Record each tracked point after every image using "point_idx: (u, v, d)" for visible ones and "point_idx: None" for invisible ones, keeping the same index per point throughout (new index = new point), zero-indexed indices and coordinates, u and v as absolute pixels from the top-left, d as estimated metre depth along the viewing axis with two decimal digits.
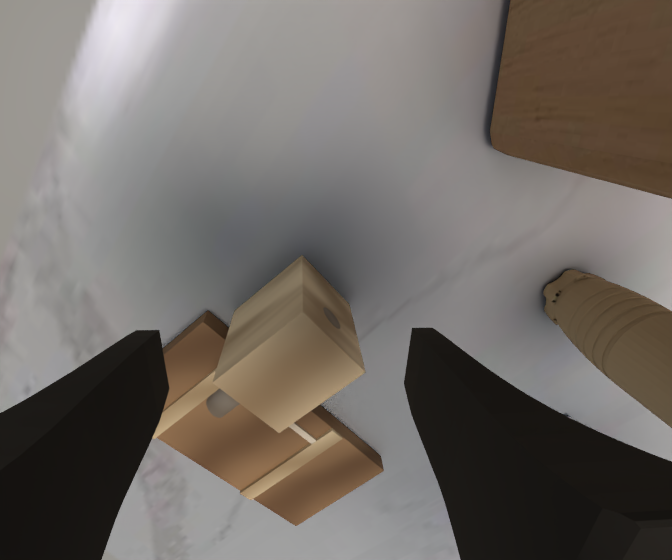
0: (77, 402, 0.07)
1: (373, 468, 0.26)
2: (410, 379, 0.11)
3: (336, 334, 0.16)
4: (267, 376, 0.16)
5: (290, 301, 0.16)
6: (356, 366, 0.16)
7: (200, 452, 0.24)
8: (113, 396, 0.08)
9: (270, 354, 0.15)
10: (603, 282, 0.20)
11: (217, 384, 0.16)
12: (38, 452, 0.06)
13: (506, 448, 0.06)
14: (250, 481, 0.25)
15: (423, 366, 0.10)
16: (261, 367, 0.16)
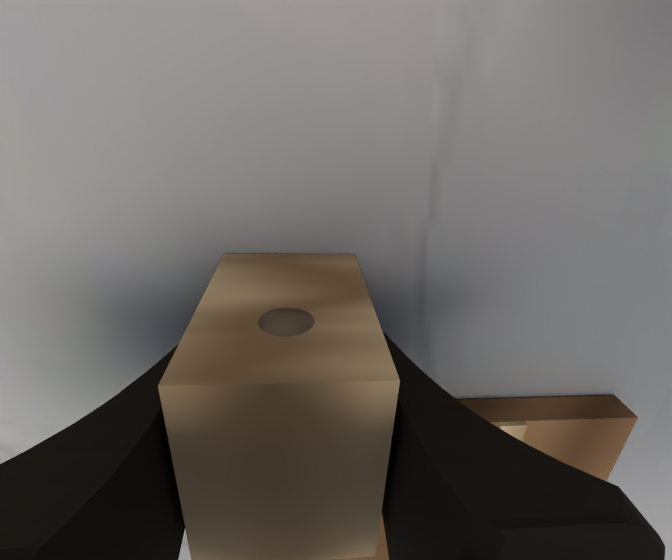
0: None
1: (617, 425, 0.15)
2: None
3: (291, 355, 0.07)
4: (250, 508, 0.08)
5: None
6: (370, 385, 0.07)
7: None
8: None
9: (210, 480, 0.07)
10: None
11: None
12: (141, 448, 0.06)
13: (416, 451, 0.06)
14: None
15: None
16: (224, 505, 0.08)
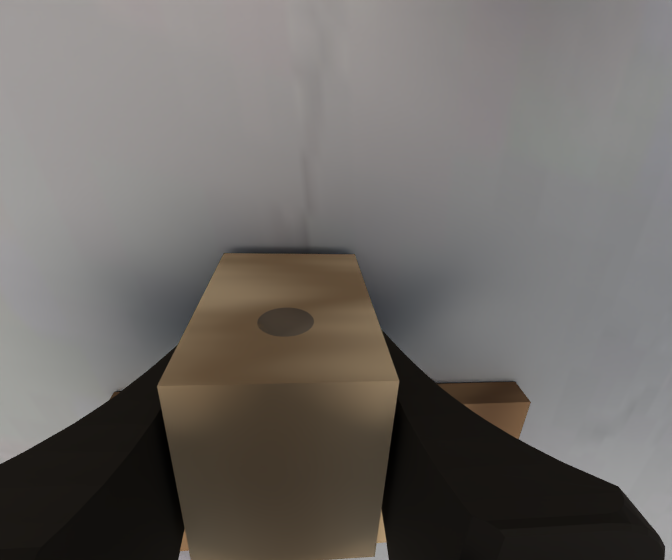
0: None
1: (511, 409, 0.15)
2: None
3: (290, 355, 0.07)
4: (249, 509, 0.08)
5: None
6: (369, 385, 0.07)
7: None
8: None
9: (209, 480, 0.07)
10: None
11: None
12: (141, 449, 0.06)
13: (416, 451, 0.06)
14: None
15: None
16: (223, 505, 0.08)
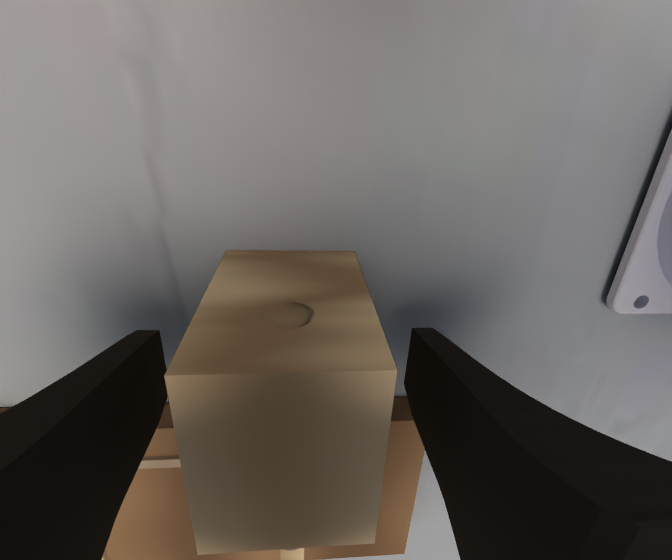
0: (77, 402, 0.07)
1: (410, 428, 0.14)
2: (410, 379, 0.11)
3: (292, 346, 0.07)
4: (253, 496, 0.08)
5: None
6: (368, 375, 0.07)
7: (178, 556, 0.16)
8: (113, 396, 0.08)
9: (214, 469, 0.07)
10: None
11: (207, 551, 0.09)
12: (38, 452, 0.06)
13: (506, 447, 0.06)
14: None
15: (423, 366, 0.10)
16: (228, 492, 0.08)
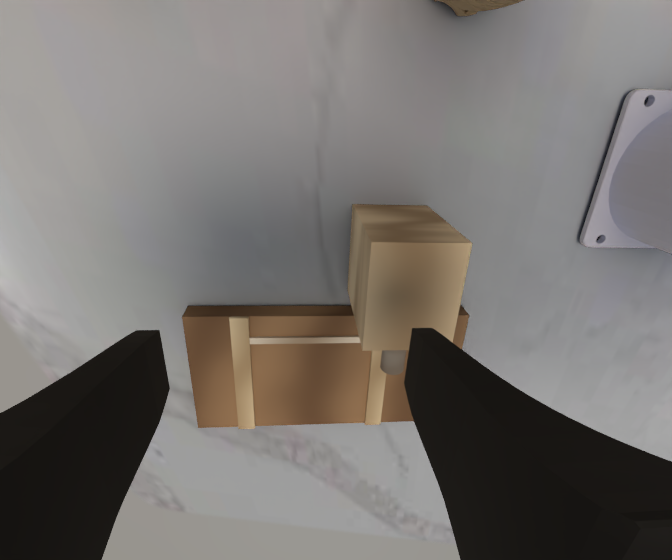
0: (77, 402, 0.07)
1: None
2: (410, 379, 0.11)
3: (419, 236, 0.15)
4: (396, 313, 0.16)
5: (363, 244, 0.16)
6: (459, 245, 0.15)
7: (299, 414, 0.24)
8: (113, 396, 0.08)
9: (382, 295, 0.16)
10: None
11: (367, 349, 0.17)
12: (38, 452, 0.06)
13: (505, 448, 0.06)
14: (363, 409, 0.24)
15: (423, 366, 0.10)
16: (385, 310, 0.16)
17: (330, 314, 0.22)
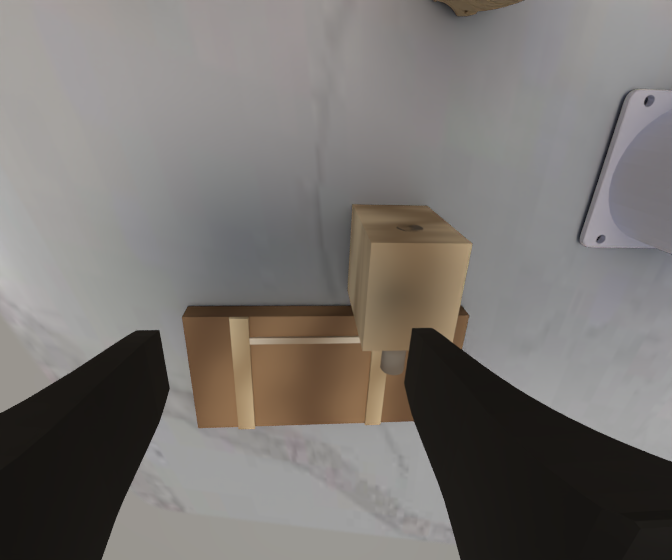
0: (77, 402, 0.07)
1: None
2: (410, 379, 0.11)
3: (420, 236, 0.15)
4: (396, 314, 0.16)
5: (364, 244, 0.16)
6: (459, 245, 0.15)
7: (299, 414, 0.24)
8: (113, 396, 0.08)
9: (382, 295, 0.16)
10: None
11: (367, 349, 0.17)
12: (38, 452, 0.06)
13: (506, 448, 0.06)
14: (363, 409, 0.24)
15: (423, 366, 0.10)
16: (385, 311, 0.16)
17: (330, 314, 0.21)
